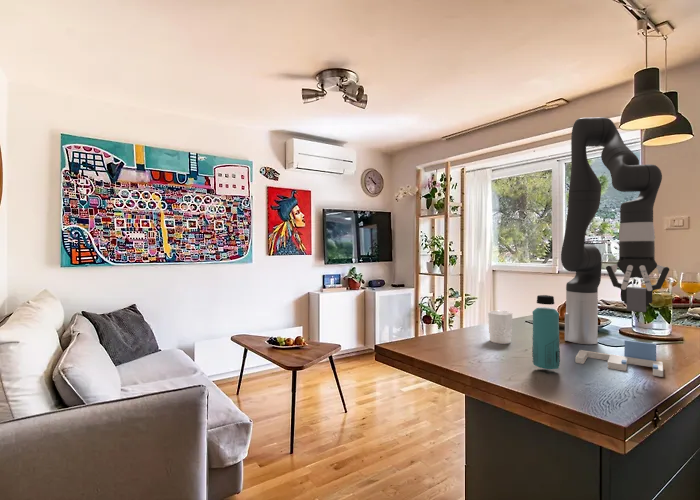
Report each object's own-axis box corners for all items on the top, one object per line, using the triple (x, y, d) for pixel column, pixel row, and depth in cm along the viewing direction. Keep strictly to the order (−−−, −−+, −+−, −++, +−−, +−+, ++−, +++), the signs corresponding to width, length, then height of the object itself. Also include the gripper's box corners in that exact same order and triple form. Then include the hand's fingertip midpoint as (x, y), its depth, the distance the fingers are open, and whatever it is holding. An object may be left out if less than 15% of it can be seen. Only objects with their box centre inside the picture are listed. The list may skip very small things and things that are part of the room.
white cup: (514, 340, 130) (514, 311, 130) (510, 345, 124) (510, 315, 124) (490, 337, 135) (490, 309, 134) (485, 342, 128) (485, 313, 128)
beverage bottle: (559, 377, 94) (559, 297, 94) (530, 372, 97) (530, 295, 97) (560, 369, 100) (560, 294, 99) (533, 365, 103) (533, 293, 103)
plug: (626, 310, 99) (626, 288, 99) (627, 308, 103) (627, 286, 103) (645, 312, 97) (645, 289, 97) (646, 310, 100) (646, 287, 100)
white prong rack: (575, 362, 105) (575, 341, 105) (580, 354, 114) (580, 334, 113) (663, 377, 94) (663, 353, 93) (662, 366, 102) (662, 344, 102)
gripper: (602, 240, 101) (603, 303, 101) (671, 239, 92) (672, 308, 92) (605, 240, 107) (605, 300, 107) (671, 239, 98) (671, 305, 98)
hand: (636, 303), depth 100 cm, fingers closed on plug, 4 cm apart
